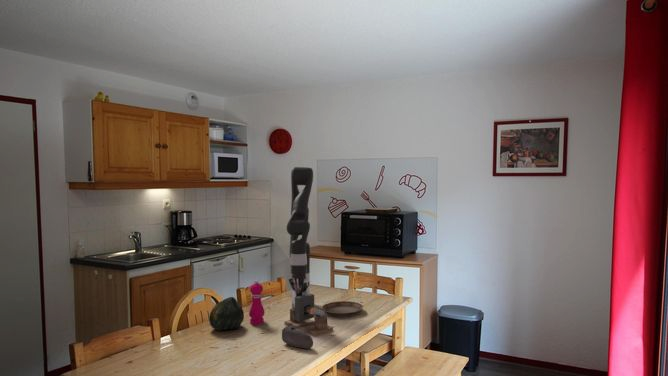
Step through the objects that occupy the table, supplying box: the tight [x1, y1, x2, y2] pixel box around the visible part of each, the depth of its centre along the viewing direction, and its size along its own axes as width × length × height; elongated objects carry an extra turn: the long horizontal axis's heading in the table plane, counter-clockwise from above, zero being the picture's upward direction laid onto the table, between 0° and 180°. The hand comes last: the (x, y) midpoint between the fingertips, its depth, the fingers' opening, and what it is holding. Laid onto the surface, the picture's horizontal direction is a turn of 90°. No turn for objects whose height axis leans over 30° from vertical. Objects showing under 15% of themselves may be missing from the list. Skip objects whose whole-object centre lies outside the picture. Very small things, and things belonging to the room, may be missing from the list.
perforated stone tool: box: [281, 325, 314, 350], centre depth 176 cm, size 15×5×7 cm, turn 52°
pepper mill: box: [248, 279, 265, 325], centre depth 207 cm, size 7×7×20 cm
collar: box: [295, 293, 315, 322], centre depth 200 cm, size 3×9×10 cm, turn 134°
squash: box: [208, 296, 245, 331], centre depth 199 cm, size 14×15×15 cm
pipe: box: [291, 302, 327, 318], centre depth 199 cm, size 20×3×3 cm, turn 44°
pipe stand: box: [283, 307, 334, 337], centre depth 199 cm, size 22×10×7 cm, turn 44°
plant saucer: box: [321, 300, 364, 319], centre depth 221 cm, size 21×21×3 cm
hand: (299, 300), depth 203 cm, fingers closed
